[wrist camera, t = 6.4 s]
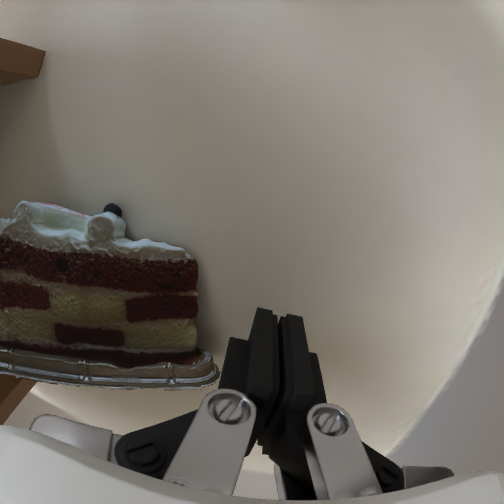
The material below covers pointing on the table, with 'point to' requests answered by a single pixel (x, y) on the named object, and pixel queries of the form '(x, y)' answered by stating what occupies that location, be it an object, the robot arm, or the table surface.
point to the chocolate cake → (96, 304)
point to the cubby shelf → (3, 72)
